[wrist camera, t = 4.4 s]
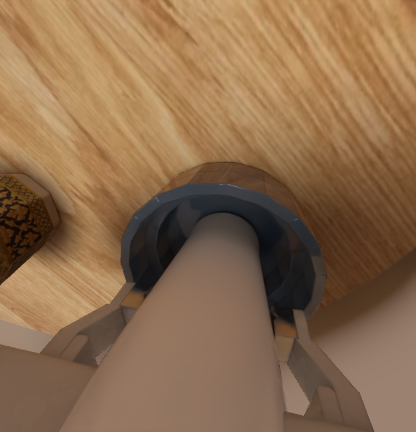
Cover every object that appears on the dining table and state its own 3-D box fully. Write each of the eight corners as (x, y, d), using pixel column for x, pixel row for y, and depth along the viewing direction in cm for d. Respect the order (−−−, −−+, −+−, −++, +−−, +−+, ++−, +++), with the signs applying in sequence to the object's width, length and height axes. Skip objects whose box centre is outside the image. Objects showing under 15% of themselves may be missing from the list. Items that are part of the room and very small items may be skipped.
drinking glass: (177, 201, 16) (-139, 577, 3) (269, 199, 15) (388, 860, 2) (189, 271, 19) (48, 624, 6) (267, 275, 18) (307, 748, 5)
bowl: (344, 225, 15) (382, 272, 11) (242, 314, 21) (239, 369, 16) (198, 125, 14) (172, 131, 10) (132, 247, 20) (97, 287, 15)
